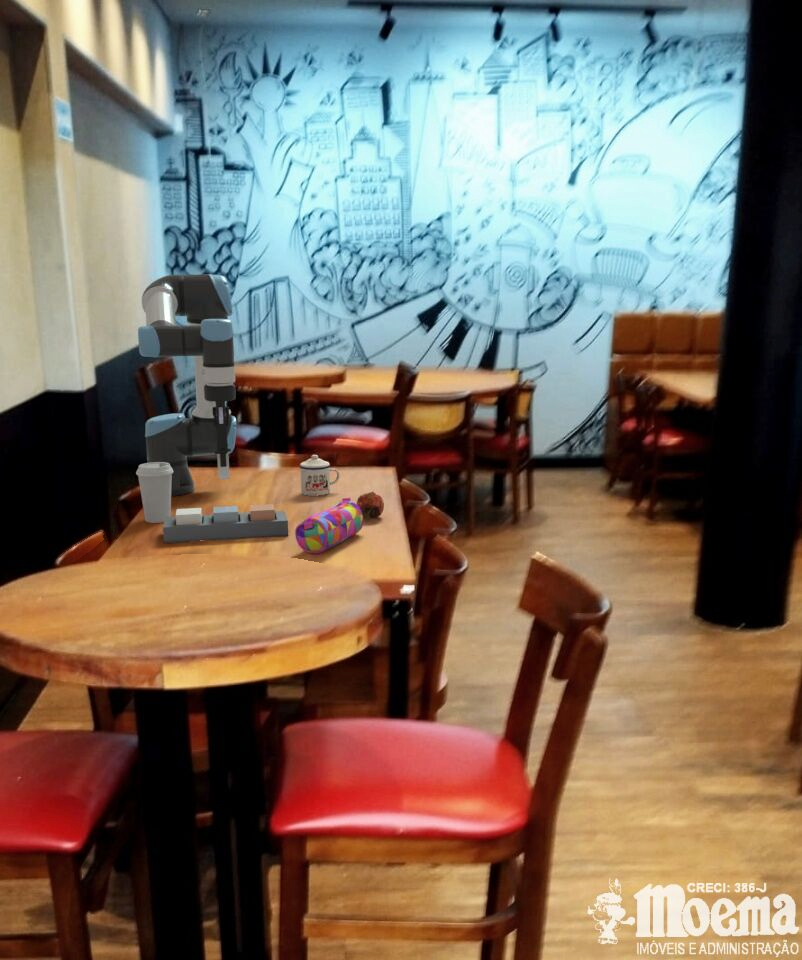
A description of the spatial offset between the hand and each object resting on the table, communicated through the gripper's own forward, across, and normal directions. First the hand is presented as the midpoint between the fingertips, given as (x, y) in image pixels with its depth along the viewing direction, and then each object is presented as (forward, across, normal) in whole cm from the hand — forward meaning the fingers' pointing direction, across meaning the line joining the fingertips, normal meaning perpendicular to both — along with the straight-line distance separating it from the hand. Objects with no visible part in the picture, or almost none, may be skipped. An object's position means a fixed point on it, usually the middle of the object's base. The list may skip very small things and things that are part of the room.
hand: (224, 478), depth 213 cm
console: (+14, +1, 0) cm, 14 cm away
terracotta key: (+12, +1, +9) cm, 15 cm away
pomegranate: (+15, -7, +38) cm, 41 cm away
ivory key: (+12, +1, -9) cm, 15 cm away
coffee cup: (+15, -17, -18) cm, 29 cm away
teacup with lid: (+15, -39, +28) cm, 51 cm away
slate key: (+12, +1, 0) cm, 12 cm away
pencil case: (+14, +14, +25) cm, 32 cm away
